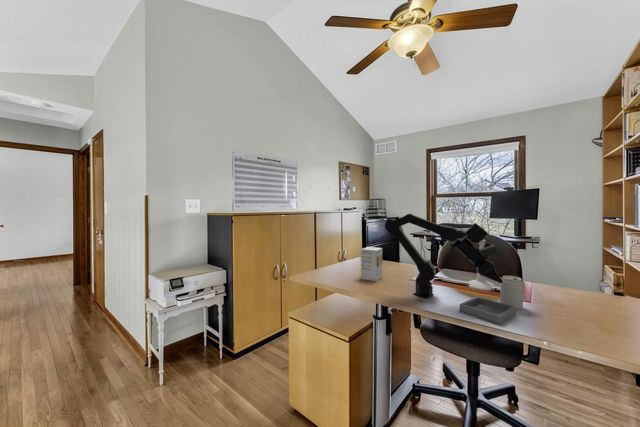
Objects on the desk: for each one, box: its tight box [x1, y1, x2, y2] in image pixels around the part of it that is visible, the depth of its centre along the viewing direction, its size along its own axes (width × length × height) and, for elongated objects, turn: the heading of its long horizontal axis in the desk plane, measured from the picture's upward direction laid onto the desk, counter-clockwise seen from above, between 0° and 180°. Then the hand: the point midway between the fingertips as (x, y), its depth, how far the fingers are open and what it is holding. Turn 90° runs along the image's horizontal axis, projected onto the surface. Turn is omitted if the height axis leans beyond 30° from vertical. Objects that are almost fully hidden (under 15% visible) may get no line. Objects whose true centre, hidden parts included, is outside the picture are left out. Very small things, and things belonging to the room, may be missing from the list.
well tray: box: [459, 295, 517, 326], centre depth 103 cm, size 14×14×3 cm
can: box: [499, 275, 524, 311], centre depth 108 cm, size 8×8×12 cm
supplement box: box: [360, 246, 383, 282], centre depth 150 cm, size 10×9×17 cm
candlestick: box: [467, 226, 495, 292], centre depth 133 cm, size 13×13×30 cm
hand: (500, 279), depth 109 cm, fingers open, 9 cm apart
